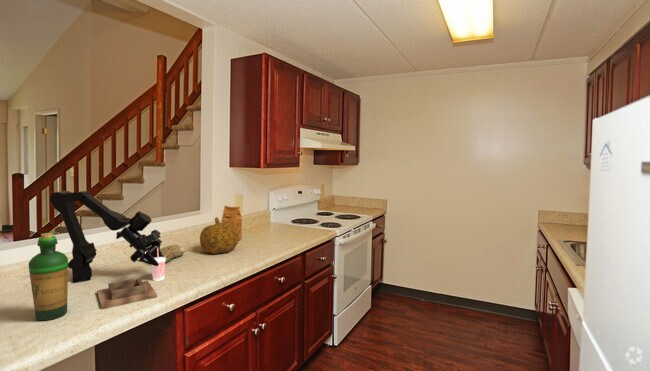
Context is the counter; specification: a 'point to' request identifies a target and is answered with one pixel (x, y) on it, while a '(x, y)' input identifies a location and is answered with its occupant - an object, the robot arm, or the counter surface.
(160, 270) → the beverage cup
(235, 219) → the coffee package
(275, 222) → the counter surface
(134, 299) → the cup holder
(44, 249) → the bottle
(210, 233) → the decorative pumpkin
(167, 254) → the tan rounded lump
